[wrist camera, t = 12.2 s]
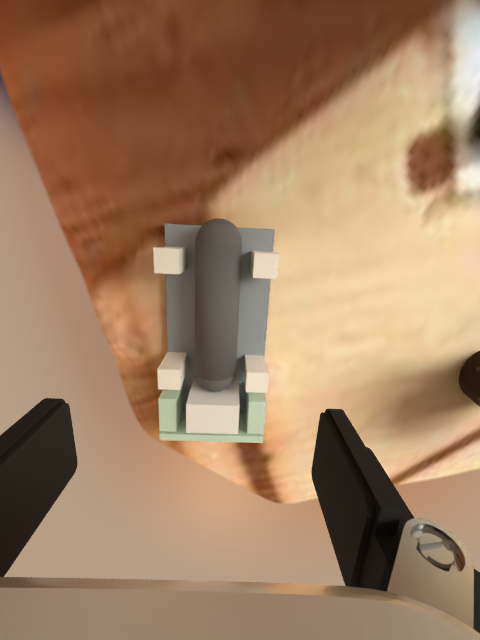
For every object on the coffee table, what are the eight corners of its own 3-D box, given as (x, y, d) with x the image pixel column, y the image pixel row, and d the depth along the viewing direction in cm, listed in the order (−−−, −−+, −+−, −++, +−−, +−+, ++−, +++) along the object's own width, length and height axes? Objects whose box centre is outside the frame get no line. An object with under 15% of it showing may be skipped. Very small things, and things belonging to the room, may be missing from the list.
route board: (272, 230, 27) (281, 227, 22) (258, 412, 32) (263, 442, 27) (167, 224, 26) (152, 220, 21) (170, 409, 32) (159, 439, 27)
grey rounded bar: (194, 218, 25) (185, 214, 21) (247, 221, 25) (250, 217, 21) (193, 403, 30) (186, 432, 26) (237, 404, 31) (237, 434, 26)
